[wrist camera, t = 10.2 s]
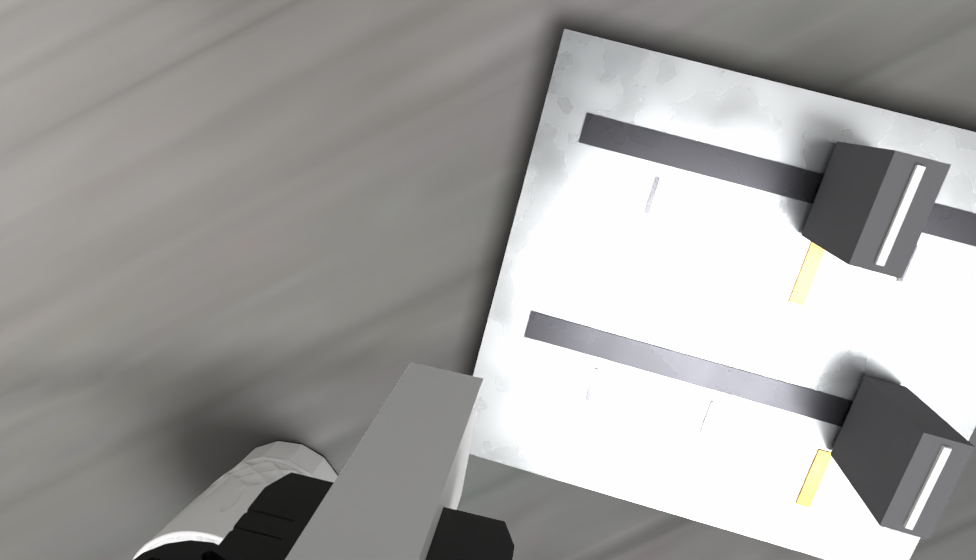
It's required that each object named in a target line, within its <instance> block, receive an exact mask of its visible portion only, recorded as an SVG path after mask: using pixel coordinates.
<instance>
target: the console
mask: <svg viewBox="0 0 976 560" xmlns="http://www.w3.org/2000/svg"><path fill="white" fill-rule="evenodd" d="M837 141H838V142H845V143H851V144H857V145H864V146H870V147H877V148H883V149H890V150H896V151H900V152H904V153H908V154H912V155H916V156H920V157H923V158H927V159H931V160H935V161H939V162H943V163H947V164H951V166H950V169H949V171H948V173H947V176H946V178H945V180H944V183H943V185H942V187H941V189H940V192H939V194H938V196H937V199H936V201H935V203H934V206H933V208H932V210H931V213H930V215H929V217H928V219H927V222H926V224H925V226H924V229H923V231H922V233H921V236H920V238H919V240H918V243H917V245H916V247H915V249H914V252H913V254H912V256H911V259H910V261H909V263H908V266H907V268H906V270H905V273H904V275H903V277H902V279H899V278H896V277H892V276H888V275H884V274H881V273H877V272H873V271H870V270H866V269H862V268H858V267H855V266H851V265H848V264H846V263H845V262H843V261H841V260H840V259H838V258H837V257H835V256H833V255H832V254H830V253H828V252H827V251H825V250H824V249H822V248H820V247H819V246H817V245H815V244H814V243H812V242H811V241H809V240H807V239H806V238H804V237H802V236H801V234H802V232H803V229H804V226H805V224H806V221H807V219H808V216H809V213H810V211H811V208H812V206H813V203H814V200H815V198H816V195H817V192H818V190H819V187H820V185H821V182H822V179H823V177H824V174H825V172H826V169H827V166H828V164H829V161H830V159H831V156H832V153H833V151H834V148H835V146H836V143H837ZM865 375H866V376H870V377H873V378H877V379H880V380H884V381H888V382H891V383H895V384H899V385H902V386H906V387H908V388H909V389H910V390H911V391H912V392H913V393H914V394H915V395H917V396H918V397H919V398H920V399H921V400H922V401H923V402H924V403H926V404H927V405H928V406H929V407H930V408H931V409H932V410H934V411H935V412H936V413H937V414H938V415H939V416H940V417H941V418H943V419H944V420H945V421H946V422H947V423H948V424H949V425H951V426H952V427H953V428H954V429H955V430H956V431H957V432H958V433H960V434H961V435H962V436H963V437H964V438H965V439H966V440H969V438H970V436H971V434H972V432H973V430H974V428H975V426H976V132H973V131H969V130H965V129H961V128H957V127H953V126H949V125H945V124H941V123H937V122H933V121H929V120H925V119H921V118H917V117H913V116H909V115H905V114H901V113H897V112H893V111H889V110H885V109H881V108H877V107H873V106H869V105H865V104H861V103H857V102H853V101H849V100H846V99H842V98H838V97H834V96H830V95H826V94H822V93H818V92H814V91H810V90H806V89H802V88H798V87H794V86H790V85H786V84H782V83H778V82H774V81H770V80H766V79H762V78H758V77H754V76H750V75H746V74H742V73H738V72H734V71H730V70H726V69H722V68H718V67H715V66H711V65H707V64H703V63H699V62H695V61H691V60H687V59H683V58H679V57H675V56H671V55H667V54H663V53H659V52H655V51H651V50H647V49H643V48H639V47H635V46H631V45H627V44H623V43H619V42H615V41H611V40H607V39H603V38H599V37H595V36H591V35H587V34H584V33H580V32H576V31H572V30H568V29H564V32H563V35H562V39H561V43H560V47H559V51H558V54H557V58H556V62H555V66H554V70H553V73H552V77H551V81H550V85H549V89H548V92H547V96H546V100H545V104H544V108H543V111H542V115H541V119H540V123H539V127H538V130H537V134H536V138H535V142H534V146H533V149H532V153H531V157H530V161H529V165H528V168H527V172H526V176H525V180H524V184H523V187H522V191H521V195H520V199H519V203H518V206H517V210H516V214H515V218H514V222H513V225H512V229H511V233H510V237H509V241H508V245H507V248H506V252H505V256H504V260H503V264H502V267H501V271H500V275H499V279H498V283H497V286H496V290H495V294H494V298H493V302H492V305H491V309H490V313H489V317H488V321H487V324H486V328H485V332H484V336H483V340H482V343H481V347H480V351H479V355H478V359H477V362H476V366H475V370H474V374H473V376H474V377H479V378H483V383H482V388H481V394H480V399H479V404H478V409H477V415H476V420H475V425H474V430H473V435H472V441H471V446H470V451H469V454H472V455H476V456H479V457H482V458H486V459H489V460H492V461H496V462H499V463H503V464H506V465H509V466H513V467H516V468H519V469H523V470H526V471H530V472H533V473H536V474H540V475H543V476H546V477H550V478H553V479H557V480H560V481H563V482H567V483H570V484H573V485H577V486H580V487H584V488H587V489H590V490H594V491H597V492H600V493H604V494H607V495H611V496H614V497H617V498H621V499H624V500H627V501H631V502H634V503H638V504H641V505H644V506H648V507H651V508H654V509H658V510H661V511H665V512H668V513H671V514H675V515H678V516H681V517H685V518H688V519H692V520H695V521H698V522H702V523H705V524H708V525H712V526H715V527H719V528H722V529H725V530H729V531H732V532H735V533H739V534H742V535H746V536H749V537H752V538H756V539H759V540H762V541H766V542H769V543H773V544H776V545H779V546H783V547H786V548H789V549H793V550H796V551H800V552H803V553H806V554H810V555H813V556H816V557H820V558H823V559H827V560H909V559H910V557H911V555H912V553H913V551H914V549H915V547H916V545H917V543H918V541H919V539H920V537H917V536H913V535H910V534H906V533H903V532H900V531H896V530H893V529H889V528H886V527H882V526H880V525H879V524H878V522H877V521H876V520H875V518H874V517H873V515H872V514H871V512H870V511H869V510H868V508H867V507H866V505H865V504H864V502H863V501H862V500H861V498H860V497H859V495H858V494H857V492H856V491H855V489H854V488H853V487H852V485H851V484H850V482H849V481H848V479H847V478H846V477H845V475H844V474H843V472H842V471H841V469H840V468H839V467H838V465H837V464H836V462H835V461H834V459H833V458H832V456H831V455H830V454H831V452H832V449H833V447H834V445H835V442H836V440H837V438H838V436H839V433H840V431H841V429H842V426H843V424H844V422H845V419H846V417H847V415H848V413H849V410H850V408H851V406H852V403H853V401H854V399H855V396H856V394H857V392H858V390H859V387H860V385H861V383H862V380H863V378H864V376H865Z"/></svg>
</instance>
